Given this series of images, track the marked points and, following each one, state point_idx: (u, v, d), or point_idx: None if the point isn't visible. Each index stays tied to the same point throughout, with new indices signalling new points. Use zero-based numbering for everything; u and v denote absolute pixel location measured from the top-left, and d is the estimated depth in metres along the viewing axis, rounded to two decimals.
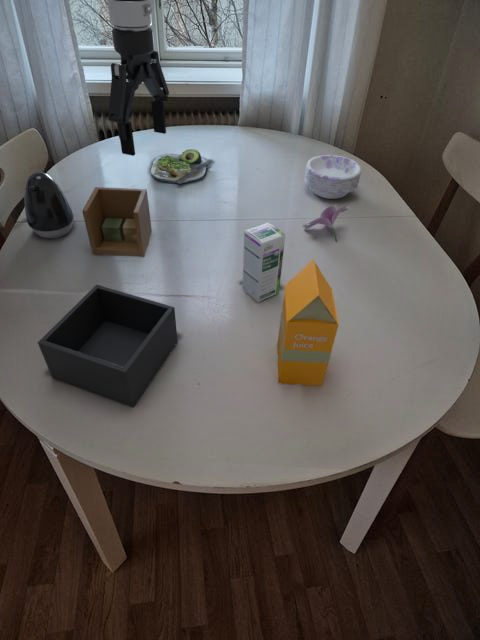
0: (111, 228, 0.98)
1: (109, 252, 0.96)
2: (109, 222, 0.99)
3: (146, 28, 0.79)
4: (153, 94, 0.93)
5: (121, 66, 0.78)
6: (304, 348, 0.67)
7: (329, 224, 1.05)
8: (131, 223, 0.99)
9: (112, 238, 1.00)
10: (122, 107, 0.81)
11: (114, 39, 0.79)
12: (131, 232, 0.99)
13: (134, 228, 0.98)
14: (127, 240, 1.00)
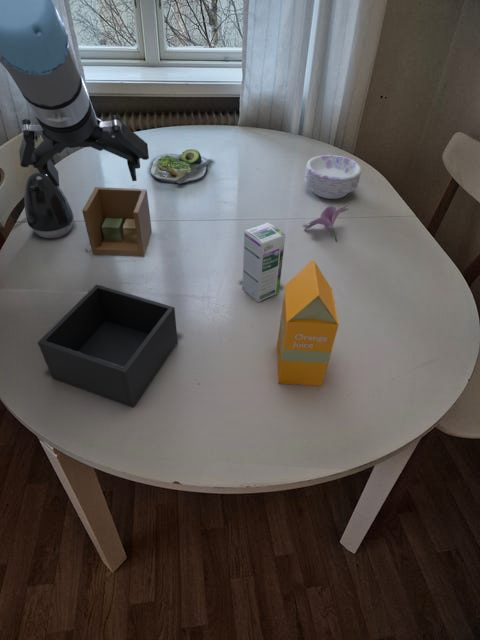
0: (111, 228, 0.98)
1: (109, 252, 0.96)
2: (109, 222, 0.99)
3: None
4: None
5: (23, 134, 0.61)
6: (304, 348, 0.67)
7: (329, 224, 1.05)
8: (131, 223, 0.99)
9: (112, 238, 1.00)
10: (27, 159, 0.67)
11: None
12: (131, 232, 0.99)
13: (134, 228, 0.98)
14: (127, 240, 1.00)
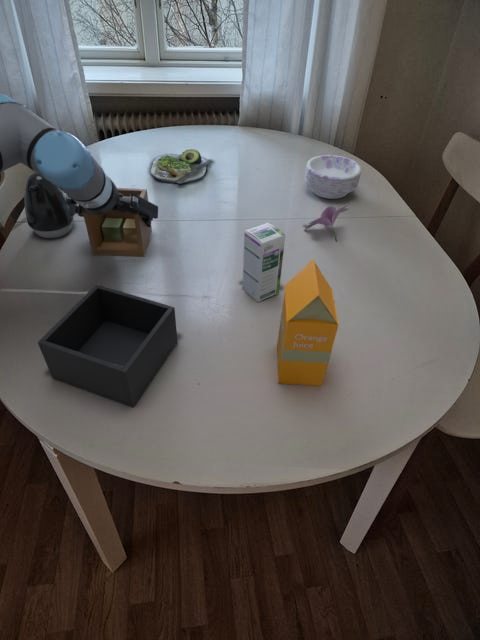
0: (111, 228, 0.98)
1: (109, 252, 0.96)
2: (109, 222, 0.99)
3: None
4: None
5: (66, 201, 0.83)
6: (304, 348, 0.67)
7: (329, 224, 1.05)
8: (131, 223, 0.99)
9: (112, 238, 1.00)
10: (72, 212, 0.90)
11: None
12: (131, 232, 0.99)
13: (134, 228, 0.98)
14: (127, 240, 1.00)
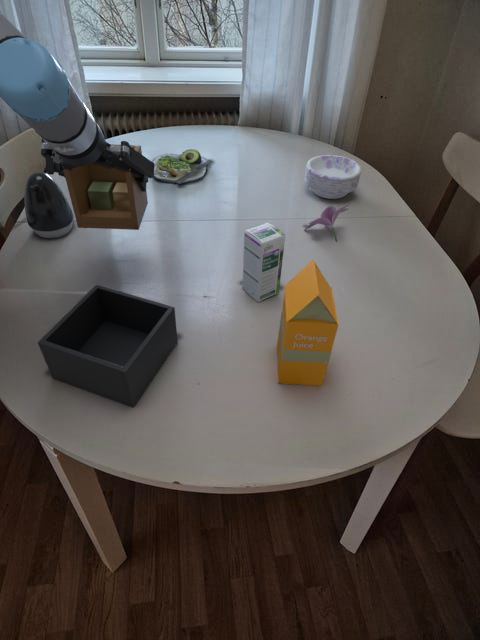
0: (99, 192, 0.83)
1: (96, 220, 0.81)
2: (97, 186, 0.84)
3: None
4: None
5: (41, 152, 0.68)
6: (304, 348, 0.67)
7: (329, 224, 1.05)
8: (123, 186, 0.84)
9: (100, 205, 0.84)
10: (50, 169, 0.74)
11: None
12: (123, 197, 0.83)
13: (126, 192, 0.83)
14: (118, 207, 0.85)
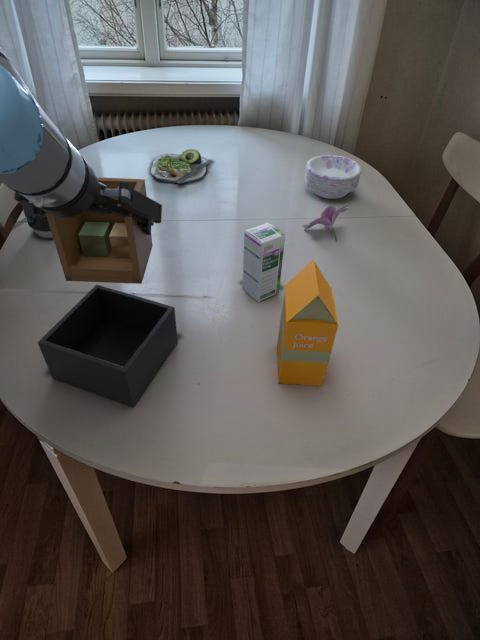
0: (92, 236, 0.67)
1: (89, 273, 0.65)
2: (90, 228, 0.68)
3: None
4: None
5: (14, 197, 0.52)
6: (304, 348, 0.67)
7: (329, 224, 1.05)
8: (122, 229, 0.68)
9: (95, 251, 0.68)
10: (30, 213, 0.58)
11: None
12: (122, 243, 0.67)
13: (126, 236, 0.67)
14: (116, 254, 0.69)
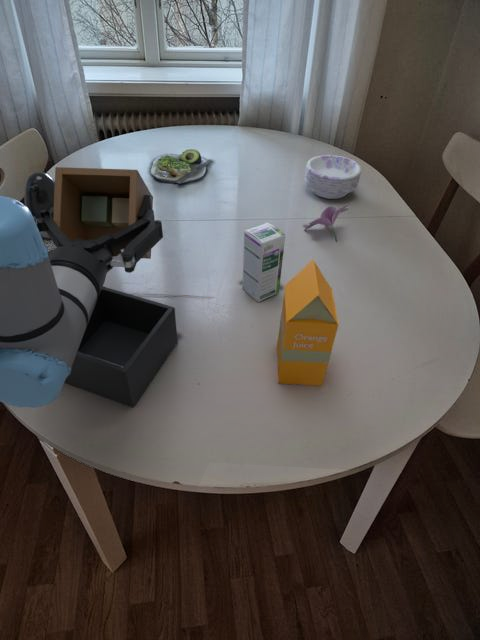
0: (95, 221, 0.68)
1: None
2: (90, 208, 0.68)
3: None
4: None
5: None
6: (304, 348, 0.67)
7: (329, 224, 1.05)
8: (122, 209, 0.68)
9: (100, 225, 0.71)
10: None
11: None
12: (125, 225, 0.69)
13: None
14: (121, 228, 0.71)
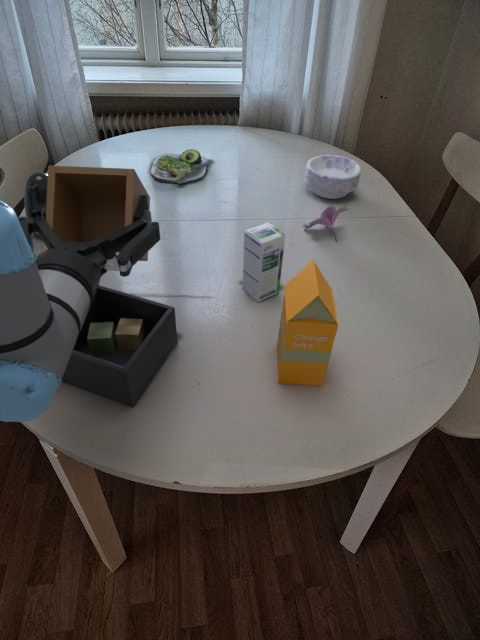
0: (102, 323, 0.75)
1: None
2: None
3: None
4: None
5: None
6: (304, 348, 0.67)
7: (329, 224, 1.05)
8: None
9: (100, 334, 0.73)
10: None
11: None
12: (129, 323, 0.76)
13: None
14: (119, 331, 0.74)
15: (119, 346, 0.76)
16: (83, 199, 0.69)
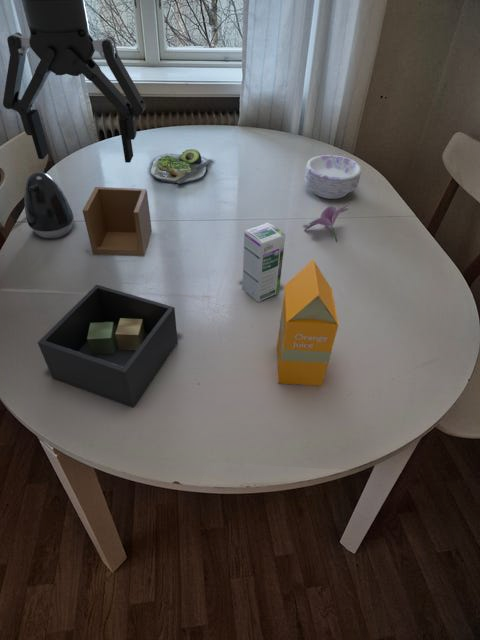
0: (102, 323, 0.75)
1: (109, 252, 0.96)
2: None
3: None
4: None
5: None
6: (304, 348, 0.67)
7: (329, 224, 1.05)
8: None
9: (100, 334, 0.73)
10: (10, 90, 0.61)
11: None
12: (129, 323, 0.76)
13: None
14: (119, 331, 0.74)
15: (119, 346, 0.76)
16: (107, 231, 1.04)
